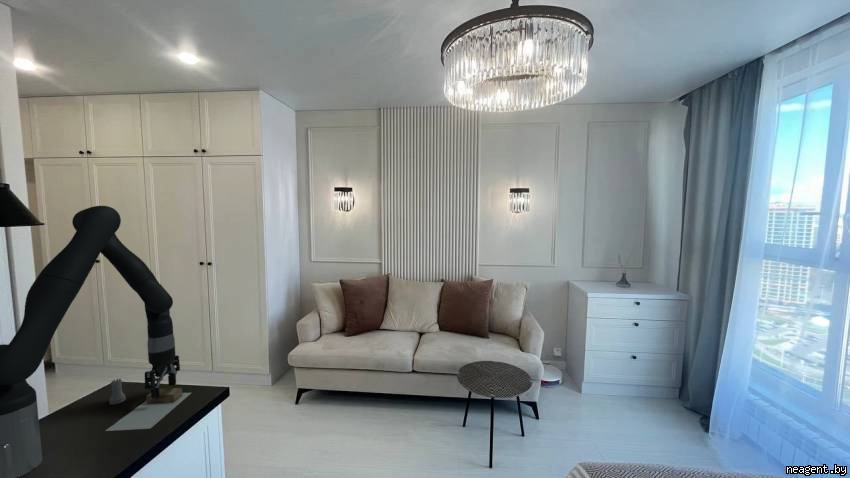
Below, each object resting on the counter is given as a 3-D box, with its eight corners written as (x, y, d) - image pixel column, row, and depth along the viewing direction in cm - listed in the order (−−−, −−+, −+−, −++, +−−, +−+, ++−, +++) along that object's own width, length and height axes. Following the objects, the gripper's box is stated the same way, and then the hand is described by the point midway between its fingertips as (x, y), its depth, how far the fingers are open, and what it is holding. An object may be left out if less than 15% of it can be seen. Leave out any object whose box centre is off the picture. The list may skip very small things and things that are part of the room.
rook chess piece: (113, 399, 120) (112, 378, 119) (128, 397, 121) (127, 376, 121) (106, 406, 116) (104, 384, 115) (122, 404, 117) (120, 382, 116)
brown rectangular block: (146, 404, 116) (146, 395, 116) (156, 397, 121) (155, 388, 121) (174, 402, 117) (173, 394, 117) (182, 395, 121) (181, 387, 121)
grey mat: (150, 429, 103) (150, 428, 103) (105, 432, 102) (105, 430, 102) (191, 393, 124) (191, 392, 124) (154, 395, 123) (154, 394, 123)
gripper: (164, 340, 124) (166, 382, 125) (134, 356, 110) (137, 403, 111) (185, 339, 125) (187, 381, 126) (158, 355, 111) (161, 402, 112)
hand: (164, 391), depth 119 cm, fingers open, 8 cm apart
